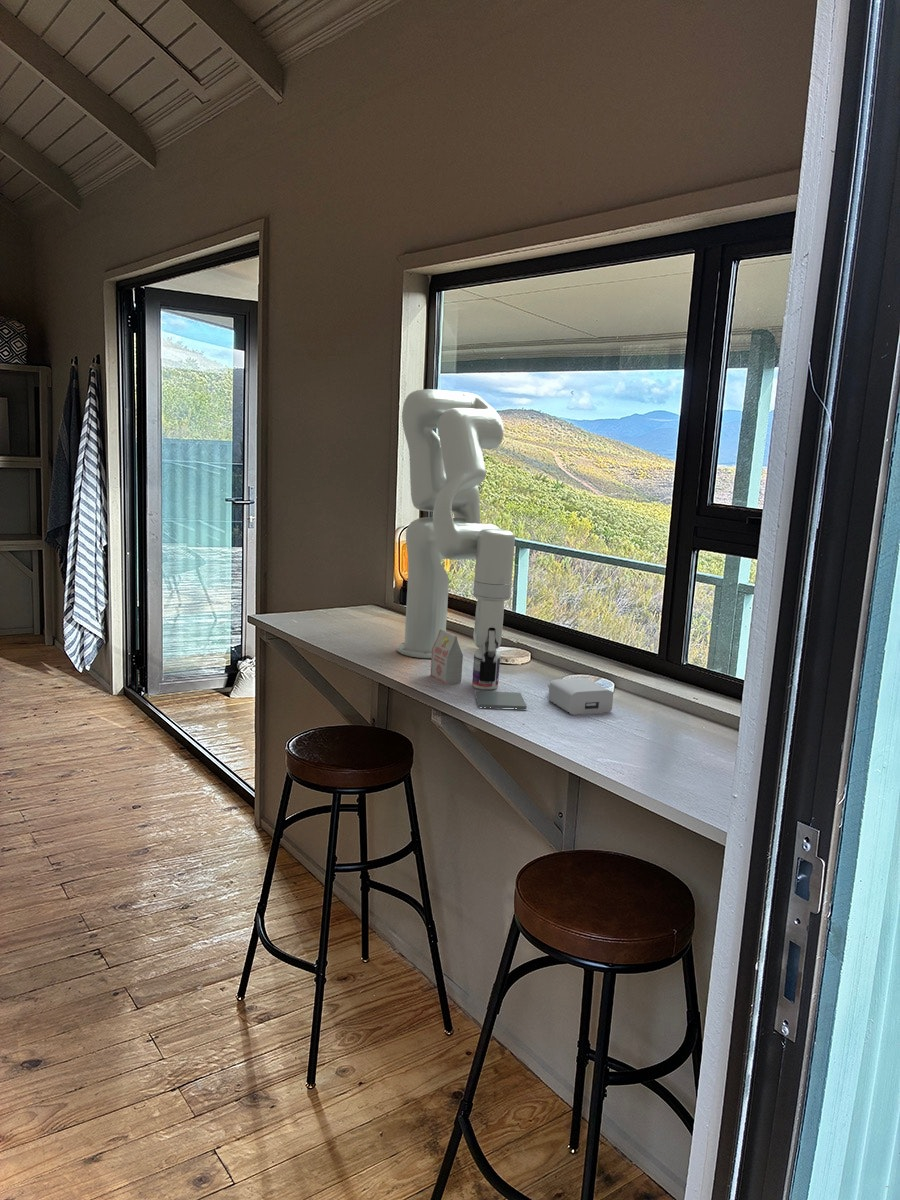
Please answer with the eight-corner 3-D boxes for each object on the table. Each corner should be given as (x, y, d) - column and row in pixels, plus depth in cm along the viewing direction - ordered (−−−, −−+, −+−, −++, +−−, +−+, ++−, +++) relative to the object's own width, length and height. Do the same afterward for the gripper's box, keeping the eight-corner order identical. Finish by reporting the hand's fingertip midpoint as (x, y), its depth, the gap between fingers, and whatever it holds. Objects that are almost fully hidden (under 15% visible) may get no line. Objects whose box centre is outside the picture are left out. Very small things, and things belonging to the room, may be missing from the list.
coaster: (475, 694, 182) (475, 690, 182) (520, 696, 183) (520, 692, 182) (479, 708, 173) (479, 704, 173) (526, 710, 174) (526, 706, 174)
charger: (572, 691, 190) (611, 713, 176) (533, 693, 186) (569, 716, 173) (574, 669, 189) (613, 689, 175) (535, 671, 185) (572, 692, 172)
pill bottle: (484, 681, 192) (488, 636, 190) (503, 687, 188) (506, 642, 186) (466, 685, 188) (469, 639, 186) (484, 691, 184) (488, 645, 182)
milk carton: (445, 674, 196) (448, 628, 194) (461, 682, 190) (464, 636, 188) (430, 675, 194) (433, 629, 192) (445, 684, 188) (448, 637, 186)
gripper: (470, 581, 192) (464, 664, 196) (477, 597, 175) (470, 687, 179) (505, 583, 193) (499, 666, 196) (515, 599, 176) (508, 689, 179)
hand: (485, 675), depth 187 cm, fingers closed on pill bottle, 5 cm apart
